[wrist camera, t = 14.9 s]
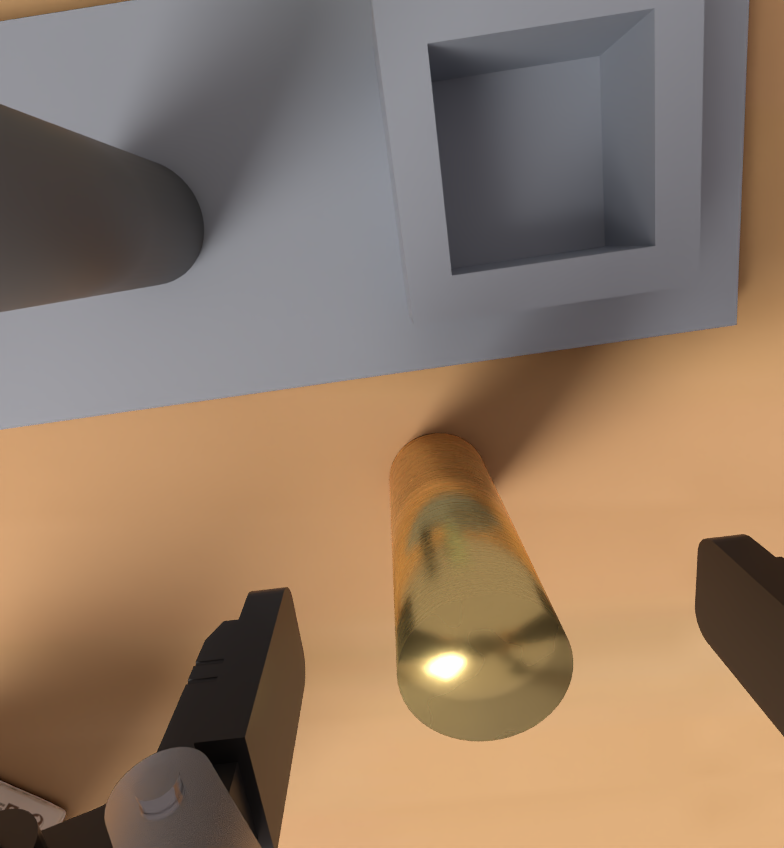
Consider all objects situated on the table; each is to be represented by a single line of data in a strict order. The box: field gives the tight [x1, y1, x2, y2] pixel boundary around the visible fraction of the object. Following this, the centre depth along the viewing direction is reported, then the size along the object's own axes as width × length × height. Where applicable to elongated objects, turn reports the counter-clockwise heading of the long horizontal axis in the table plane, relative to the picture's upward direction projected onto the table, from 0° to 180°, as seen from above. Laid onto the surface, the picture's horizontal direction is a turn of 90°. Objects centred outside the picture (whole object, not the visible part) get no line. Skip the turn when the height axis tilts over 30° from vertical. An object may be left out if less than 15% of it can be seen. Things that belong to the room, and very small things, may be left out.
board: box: [0, 0, 749, 430], centre depth 11 cm, size 10×22×10 cm, turn 98°
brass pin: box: [389, 433, 573, 741], centre depth 15 cm, size 3×3×9 cm
